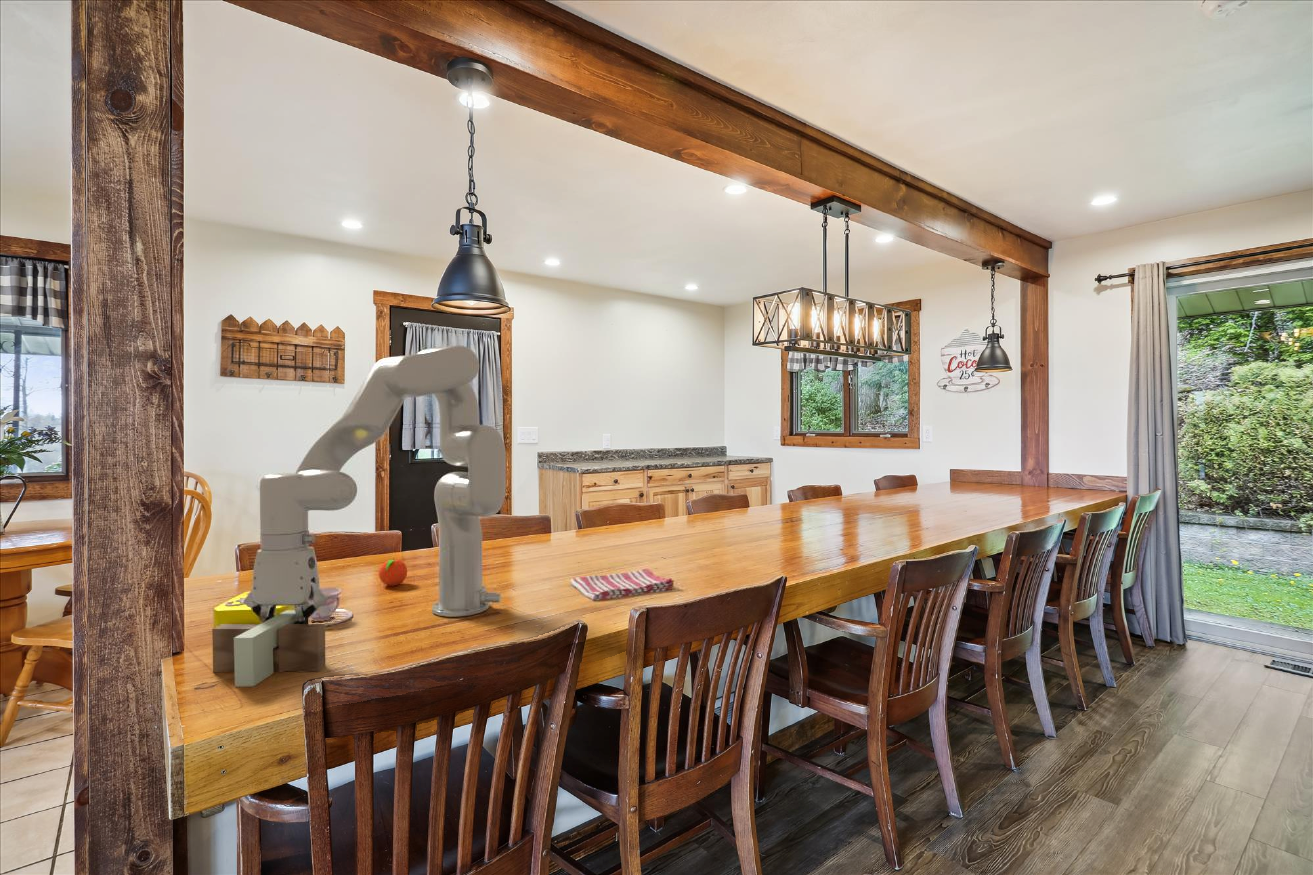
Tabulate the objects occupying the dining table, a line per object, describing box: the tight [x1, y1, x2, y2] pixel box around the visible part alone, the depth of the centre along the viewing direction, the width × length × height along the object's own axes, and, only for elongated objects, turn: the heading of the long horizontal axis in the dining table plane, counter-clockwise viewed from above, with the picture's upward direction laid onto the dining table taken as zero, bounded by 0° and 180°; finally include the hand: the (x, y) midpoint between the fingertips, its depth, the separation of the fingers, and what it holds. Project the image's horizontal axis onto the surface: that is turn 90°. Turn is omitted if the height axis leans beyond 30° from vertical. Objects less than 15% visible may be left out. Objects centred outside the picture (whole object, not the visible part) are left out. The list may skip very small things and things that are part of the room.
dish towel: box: [569, 568, 675, 602], centre depth 165 cm, size 17×23×4 cm
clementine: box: [378, 558, 408, 587], centre depth 166 cm, size 8×7×7 cm
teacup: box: [308, 586, 353, 627], centre depth 138 cm, size 12×12×6 cm
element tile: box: [212, 590, 295, 628], centre depth 140 cm, size 15×15×5 cm
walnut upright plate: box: [211, 624, 326, 673], centre depth 110 cm, size 18×2×8 cm, turn 91°
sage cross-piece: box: [234, 610, 297, 688], centre depth 110 cm, size 3×15×8 cm, turn 1°
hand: (286, 640), depth 115 cm, fingers open, 4 cm apart
